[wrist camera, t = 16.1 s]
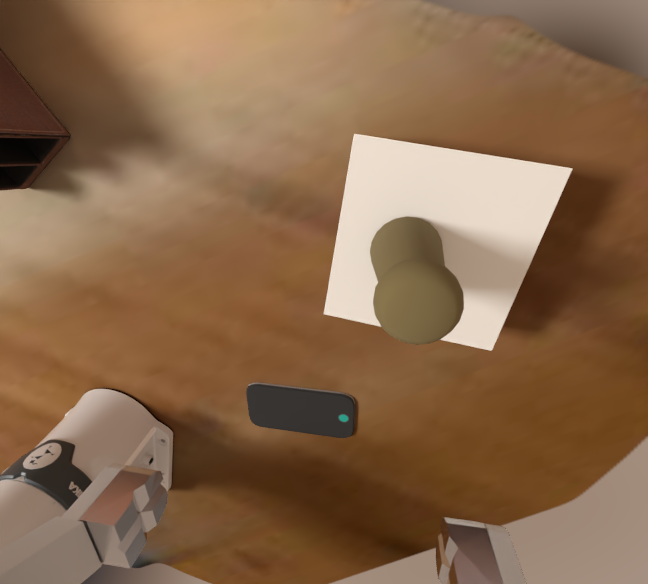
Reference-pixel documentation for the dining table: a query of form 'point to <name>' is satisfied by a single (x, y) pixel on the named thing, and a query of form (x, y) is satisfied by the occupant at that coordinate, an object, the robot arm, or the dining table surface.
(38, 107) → the letter holder
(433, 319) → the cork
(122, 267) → the dining table surface
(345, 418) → the smartphone
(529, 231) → the white block
